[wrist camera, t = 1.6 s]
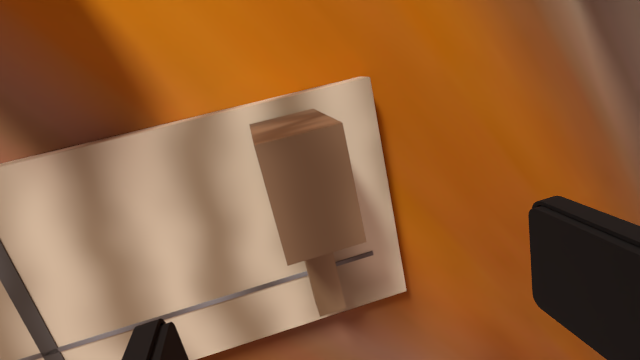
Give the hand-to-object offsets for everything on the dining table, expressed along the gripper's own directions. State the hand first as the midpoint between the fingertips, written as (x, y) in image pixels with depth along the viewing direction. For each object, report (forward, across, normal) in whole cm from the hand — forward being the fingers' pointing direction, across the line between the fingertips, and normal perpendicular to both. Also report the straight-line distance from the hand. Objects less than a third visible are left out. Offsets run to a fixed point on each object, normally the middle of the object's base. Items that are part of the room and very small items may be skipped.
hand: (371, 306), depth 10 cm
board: (+18, +12, +4) cm, 22 cm away
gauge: (+16, 0, +3) cm, 16 cm away
